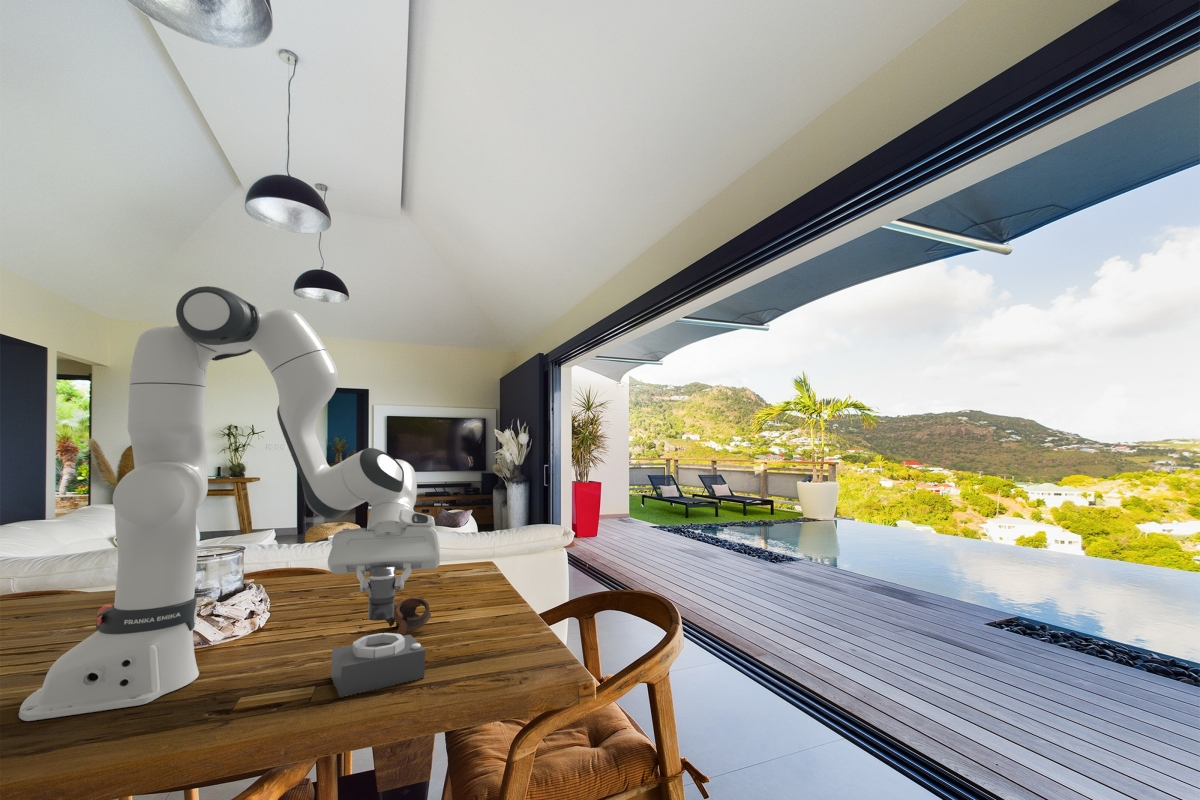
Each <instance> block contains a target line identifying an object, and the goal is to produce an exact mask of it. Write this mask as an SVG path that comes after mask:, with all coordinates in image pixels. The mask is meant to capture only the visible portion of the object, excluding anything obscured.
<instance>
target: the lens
mask: <svg viewBox="0 0 1200 800" xmlns="http://www.w3.org/2000/svg"><path fill="white" fill-rule="evenodd" d="M395 569H396V566H395V565H377V566H373V567H371V568H370V572H369V575H368V579H369V580H370V586H369V591H368V612H367V613H368V614H367V616H368V617H367V619H368V620H370V621H373V622H374V621H385V620H386V619H390V618H392V617H393V616H394V604H395V601H396V600H395V598H396V596H395V594H396V593H395V591H396V590H395V578H396V577H397V571H395Z"/></svg>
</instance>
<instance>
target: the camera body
mask: <svg viewBox="0 0 1200 800" xmlns="http://www.w3.org/2000/svg"><path fill="white" fill-rule="evenodd" d="M425 664H426V649H425V648H424V647H423V646H422V645H421V643H420V642H418V641H417V640H416V639H415V638H414V637H413V636H412V635H411V634H405V635H404V636H402V635H401V634H397V633H392V632H384V633H383V632H381V633H374V634H373V633H372V634H369V635H368V634H367V635H364V636H361V637H360V638H358V639H356V640H354V641H353V642H352V644H351V645H345V646H341V647H340V646H339V647H334V648H331V668H330V679H331V678H332V679H331V680H333V681H332V683H333V685H334V687H336V688H335V690H336V689H337V690H336V692H337V691H338V692H337V694H338V696H339V698H340V697H341V698H344V697H343V696H346V695H350V696H352V695H351V694H354V695H357V694H356V693H359V694H362V692H363V693H366V691H367V692H371V690H372V691H375V689H376V690H379V689H384V688H383V687H385V688H388V687H387V686H389V687H392V686H391V685H393V686H396V685H395V684H398V685H400V684H399V683H402V684H404V683H403V682H406V683H409V682H408V681H411V682H413V681H412V680H415V681H417V680H416V679H419V680H421V679H420V678H424V679H425V671H426V670H425V668H426V666H425ZM346 697H347V696H346Z"/></svg>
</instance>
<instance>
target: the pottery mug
mask: <svg viewBox="0 0 1200 800" xmlns="http://www.w3.org/2000/svg"><path fill="white" fill-rule="evenodd" d="M421 606H423V607H424V608H425V610H424V611H423V613H422V614H419V613H418V612H416V610H417V608H418V607H421ZM429 619H432V614H431V611H430V605H429V603H428V602H427V601H426V599H424V598H420V597H415V596H409V597H405V598H403V599H401V600H399V602H398V603H397V604H395V603H394V616H393V617H392V618H390V619H386V620H384V621H386V622H387V623H388V626H389V628H391V627H392V626H393V625H394V624H395V626H396V627H397V626H398V625H399V626H398V628H397V631H396V634H401V635H402V636H405V635H407V633H411V632H412V631H415V630H417V629H420V628H422V627H424V626H425V624H427V623H428V621H429Z"/></svg>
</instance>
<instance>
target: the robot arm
mask: <svg viewBox="0 0 1200 800" xmlns="http://www.w3.org/2000/svg"><path fill="white" fill-rule="evenodd" d="M175 315H176V320H177V323H178V325H175V326H156V327H153V328H150V329H147V330H145V331H143V332H142V333H141V334H140V335H139V336H138V339H137V342H136V345H135V348H134V352H133V355H132V361H131V365H130V366H131V367H130V373H129V386H128V387H129V388H128V389H129V391H128V408H127V409H128V411H127V413H128V414H127V431H128V432H127V433H128V434H129V438H130V443H131V444H130V445H131V449H132V456H133V465H134V467H133V468H134V469H132V470H130V471H129V472H127V474H125V475H124V476H123V477H122V478H121V479H120V480H119V482H118V483H117V485H116V487H115V489H114V491H113V493H112V504H113V508H114V522H115V525H114V526H115V527H114V528H115V537H116V545H117V572H116V573H117V574H116V582H115V592H114V593H115V594H114V604H113V605H112V604H105V605H102V606H101V608H99V609H98V611H97V614H96V615H97V617H96V623H95V630H96V631H95V632H93V633H92V634H91V635H89V636H88V637H86V638H84V640H82V641H81V642H79V643H78V644H77V645H75V646H73V647H72V648H71V649H69V650H68V651H67V652H65V653H63V654H61V656H60V657H58V659H57V660H55V661H54V663H53V664H52V665H51V666H50V668H49V670H48V671H47V673H46V676H45V678H44V681H43V683H42V687H41V688H39V689H37V690H35V691H34V692H33V693H31V694H30V695H28V697H26V699H24V701H23V702H22V704H21V705H20V707H19V711H18V718H19V719H21V720H22V721H25V722H30V721H32V722H33V721H37V720H45V719H46V720H47V719H54V718H60V717H66V716H72V715H73V716H74V715H81V714H86V713H87V714H88V713H94V712H102V711H108V710H114V709H115V710H116V709H121V708H129V707H136V706H141V705H145V704H149V703H150V702H153V701H154V700H156V699H158V698H160V697H162V696H164V695H166V694H169V693H172V692H174V691H176V690H179V689H181V688H184V687H185V686H187V685H189V684H191V683H193V682H194V681H195V680H197V679H198V677H199V675H200V671H199V668H198V664H197V661H196V655H195V645H194V629H195V626H196V624H197V615H198V600H197V599H198V597H197V596H196V595H195V592H196V581H197V580H196V579H197V566H198V555H199V554H198V546H197V509H198V508H200V506H201V505H202V504H203V503H204V501H206V498H207V495H208V489H209V480H208V479H209V478H208V477H209V475H208V473H209V470H208V454H207V453H208V451H207V441H206V440H207V439H206V397H207V391H206V389H207V388H206V387H207V369H208V365H209V362H211V360H212V361H216V362H218V361H221V360H226V359H229V358H234V357H239V356H243V355H246V354H249V353H252V352H253V351H254V352H255V353H256V354H258V356H260V358H261V359H262V361H263V362H264V364H265V366H266V367H267V370H268V371H269V372H270V374H271V376H272V378H273V380H274V382H275V385H276V388H277V392H278V406H277V408H276V409H277V410H276V414H277V420H278V423H279V426H280V429H281V432H282V435H283V437H284V440H285V442H286V446H287V448H288V451H289V452H290V455H291V458H292V460H293V463H294V465H295V468H296V470H297V472H298V473H297V474H298V476H299V478H300V481H301V484H302V490H303V495H304V499H305V502H306V505H307V506H308V508H309V509H310V510H311V511H312V512H313V513H315V514H316V515H318V516H320V517H323V518H326V519H333V520H336V519H339V518H341V517H342V516H344V515H345V514H347V513H349V512H350V511H352V510H353V509H354V508H355V507H358V506H360V505H361V504H364V503H365V502H367V503H369V504H370V507H371V508H370V511H369V514H368V520H367V525H366V527H359V528H343V529H342V530H339V531H337V532H336V533H334V534H333V537H332V540H331V549H330V551H329V554H328V557H327V567H328V570H329V571H330V572H331V573H332V574H333V575H340V574H342V575H343V574H356V577H357V579H358V581H359V583H360V584H359V591H360V592H369V586H370V580H369V578H365V577H366V573H370V568H371V567H373V566H377V565H395V566H396V569H395V572H398V571H399V572H400V571H403V572H402V573H401V575H400V576H396V577H395V591H399V590H404V588H405V587H404V585H405V582H406V581H407V580H408V579H409V577H410V576H411V574H412V571H415V570H416V571H417V570H436V569H437V568H438V567H439V565H440V564H441V550H440V539H439V534H438V532H437V531H438V530H436V522H435V518H434V517H433V516H432V515H429V514H424V513H420V512H416V511H415V510H414V506H415V505H416V502H417V496H418V495H417V494H418V493H417V492H418V485H417V483H418V482H417V475H416V472H415V469H414V467H413V466H412V465H411V464H410V463H409V462H407V461H406V460H403V459H397V458H395V457H392V455H390V454H389V453H387V452H385V451H383V450H380V449H377V448H373V447H366V448H364V449H363V450H360V451H358V452H357V453H354V454H353V455H351V456H348V457H347V458H345V459H344V460H341V461H340V462H339V463H336V464H334V465H332V466H330V465H329V464H328V462H327V460H326V457H325V454H324V451H323V449H322V447H321V445H320V441H319V439H318V436H317V433H316V424H317V420H318V417H319V415H320V413H322V412H321V411H322V410H323V409H324V408H325V406H326V405H327V404H328V402H329V401H330V400H331V399H332V397H333V396H334V394H335V392H336V390H337V387H338V384H339V372H338V368H337V366H336V363H335V361H334V360H333V358H332V355H331V354H330V352H329V351H328V349H327V347H326V346H325V344H324V342H323V341H322V340H321V338H320V337H319V336H318V334H317V332H316V331H315V330H314V328H313V327H312V326H311V325H310V324H309V322H308V321H307V320H306V319H305V318H304V316H303V315H301V314H300V313H299V312H297V311H296V310H292V309H289V308H281V309H274V310H271V311H268V312H264V313H263V312H262V313H261V312H259V309H258V307H256V305H253V304H252V303H250V302H248V301H246V300H245V299H243V298H241V297H240V296H239V295H237V294H235V293H234V292H232V291H229V290H227V289H224V288H221V287H217V286H206V285H205V286H199V287H195V288H193V289H191V290H188V291H187V292H186V293H184V294H183V295H182V296H181V298H180V299H179V300H178V302H177V305H176V309H175Z"/></svg>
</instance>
